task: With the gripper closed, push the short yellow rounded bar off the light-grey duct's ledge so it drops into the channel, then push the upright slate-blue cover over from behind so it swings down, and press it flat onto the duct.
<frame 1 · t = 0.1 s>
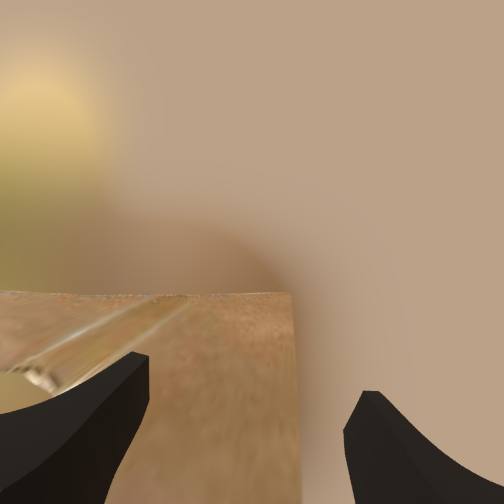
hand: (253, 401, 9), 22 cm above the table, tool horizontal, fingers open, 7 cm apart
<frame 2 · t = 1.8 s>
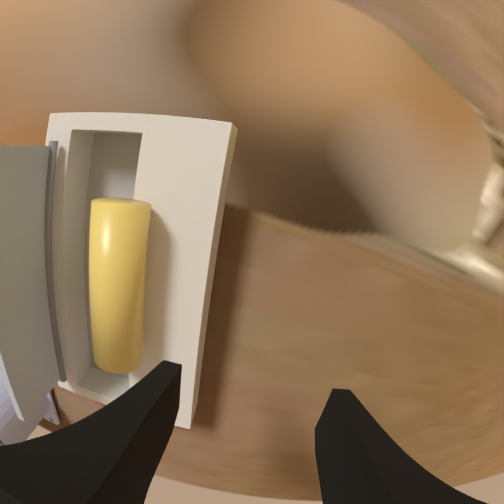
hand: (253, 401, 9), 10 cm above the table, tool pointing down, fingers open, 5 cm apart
yellow rounded bar: (116, 288, 15), point 4 cm above the table, tilted 42°, touching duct
cover: (22, 292, 14), point 6 cm above the table, hinge at 90.0°
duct: (112, 269, 20), on the table
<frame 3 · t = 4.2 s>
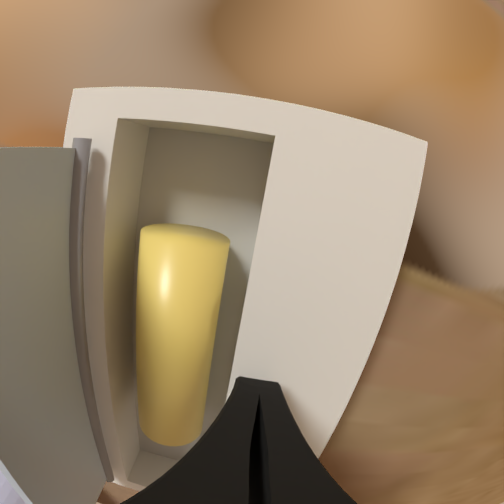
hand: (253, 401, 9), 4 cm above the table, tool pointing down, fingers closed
yellow rounded bar: (174, 348, 11), point 2 cm above the table, tilted 172°, touching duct
cover: (47, 412, 7), point 6 cm above the table, hinge at 90.0°
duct: (179, 344, 13), on the table
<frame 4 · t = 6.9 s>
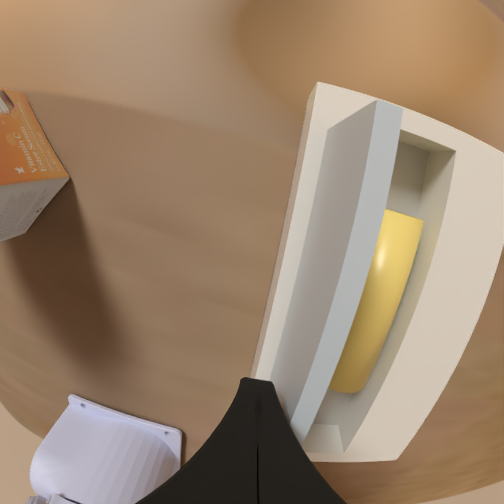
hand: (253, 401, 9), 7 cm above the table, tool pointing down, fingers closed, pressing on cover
small box: (23, 160, 15), on the table
yellow rounded bar: (368, 302, 14), point 2 cm above the table, tilted 160°, touching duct
cover: (299, 363, 10), point 6 cm above the table, hinge at 90.0°, touching gripper
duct: (345, 304, 16), on the table
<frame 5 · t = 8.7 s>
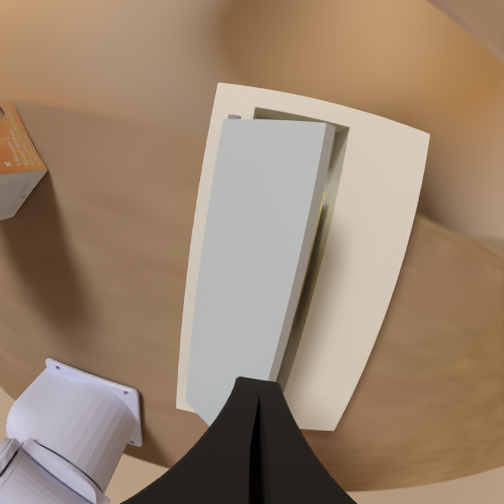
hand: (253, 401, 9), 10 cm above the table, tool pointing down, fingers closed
small box: (13, 157, 18), on the table
cover: (238, 306, 14), point 6 cm above the table, hinge at 43.8°
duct: (266, 271, 19), on the table
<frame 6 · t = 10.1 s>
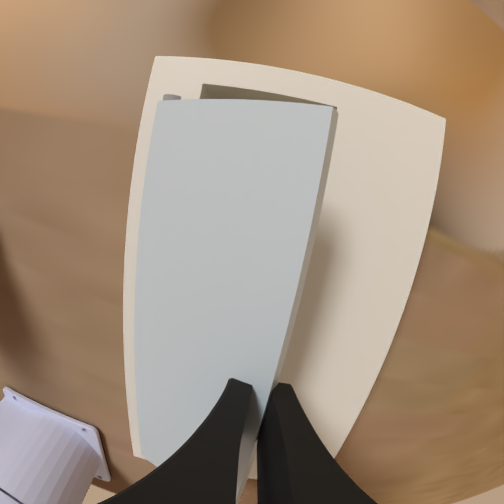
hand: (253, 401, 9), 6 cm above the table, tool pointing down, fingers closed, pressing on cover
cover: (196, 356, 10), point 5 cm above the table, hinge at 27.1°, touching gripper
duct: (230, 302, 15), on the table
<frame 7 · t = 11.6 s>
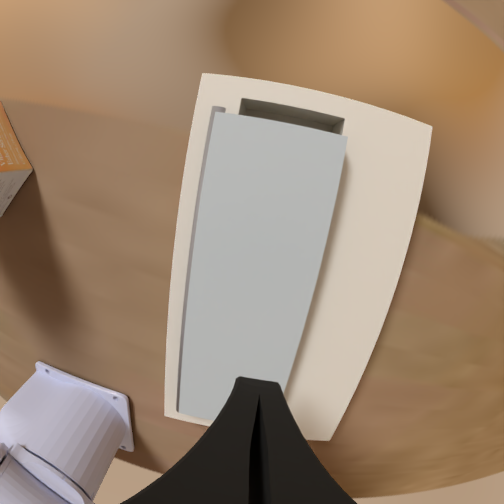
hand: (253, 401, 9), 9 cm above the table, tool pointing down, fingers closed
small box: (0, 156, 17), on the table
cover: (245, 300, 14), point 4 cm above the table, hinge at -0.1°
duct: (257, 274, 18), on the table
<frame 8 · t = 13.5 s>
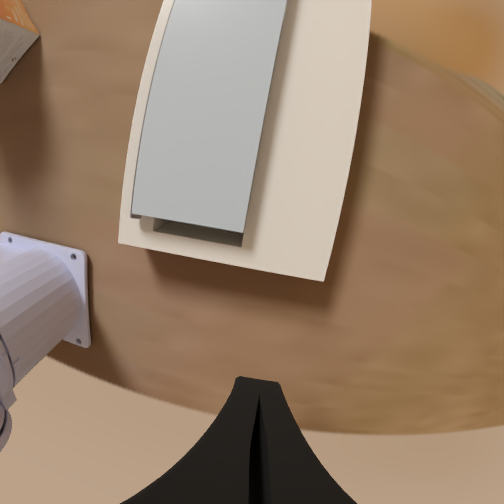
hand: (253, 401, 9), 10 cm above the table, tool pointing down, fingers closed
small box: (11, 38, 15), on the table
cover: (212, 59, 12), point 4 cm above the table, hinge at -0.6°
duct: (230, 80, 16), on the table
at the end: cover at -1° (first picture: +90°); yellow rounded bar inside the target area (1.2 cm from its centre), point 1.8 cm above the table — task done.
